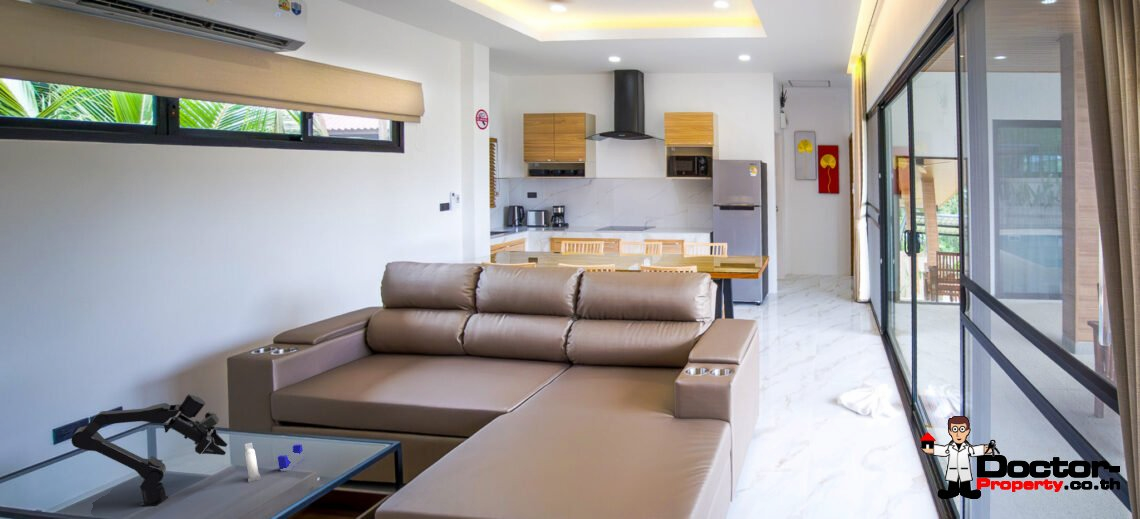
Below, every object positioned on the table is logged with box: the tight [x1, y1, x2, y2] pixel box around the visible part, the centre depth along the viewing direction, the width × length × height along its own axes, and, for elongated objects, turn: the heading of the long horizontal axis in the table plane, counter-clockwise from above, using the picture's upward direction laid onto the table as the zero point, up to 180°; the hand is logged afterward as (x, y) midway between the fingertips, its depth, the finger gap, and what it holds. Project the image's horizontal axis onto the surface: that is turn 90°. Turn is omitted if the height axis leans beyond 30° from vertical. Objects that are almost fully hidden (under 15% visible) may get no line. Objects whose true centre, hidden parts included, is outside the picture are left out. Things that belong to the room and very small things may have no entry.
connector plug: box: [244, 442, 261, 483], centre depth 286 cm, size 4×4×14 cm
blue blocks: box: [277, 444, 304, 470], centre depth 297 cm, size 12×4×6 cm, turn 168°
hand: (225, 449), depth 283 cm, fingers open, 9 cm apart
